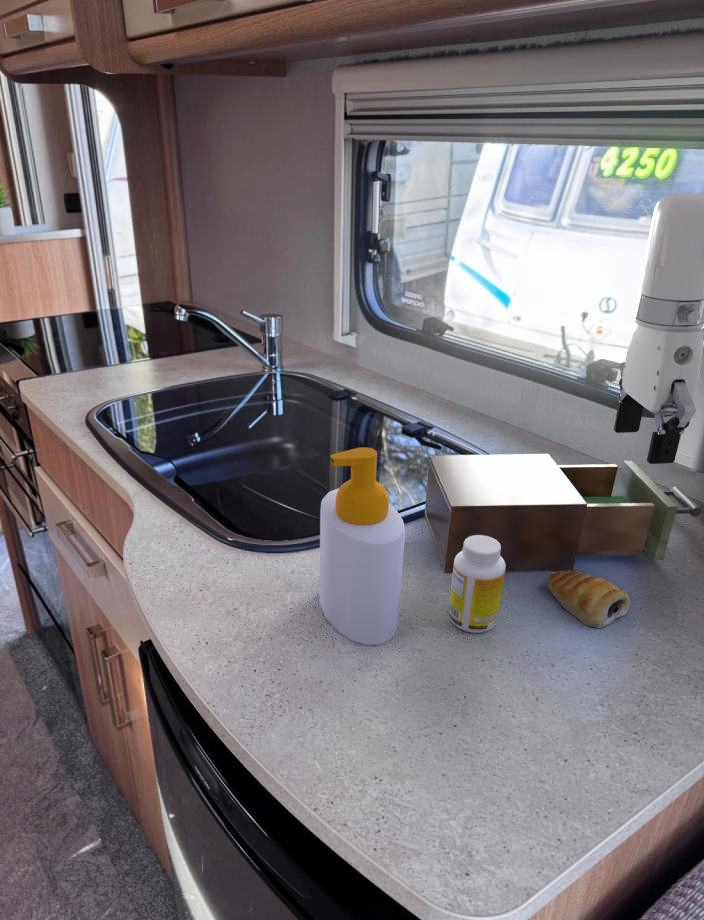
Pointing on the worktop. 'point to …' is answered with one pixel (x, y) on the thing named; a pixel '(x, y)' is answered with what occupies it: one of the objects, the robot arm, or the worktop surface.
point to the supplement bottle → (477, 585)
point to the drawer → (626, 511)
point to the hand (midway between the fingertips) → (642, 446)
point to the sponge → (606, 500)
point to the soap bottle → (361, 553)
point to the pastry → (588, 597)
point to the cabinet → (505, 509)
